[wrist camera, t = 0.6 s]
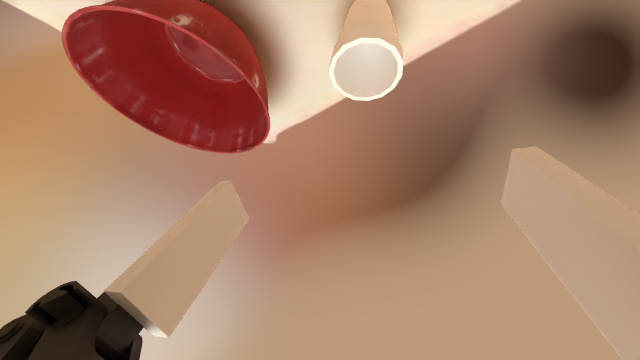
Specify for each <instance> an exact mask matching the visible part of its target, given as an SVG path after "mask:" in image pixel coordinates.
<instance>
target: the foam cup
mask: <svg viewBox="0 0 640 360" xmlns="http://www.w3.org/2000/svg"><path fill="white" fill-rule="evenodd" d="M402 68H403V51H402V47H401V45H400V43H399V40H398V36H397V33H396V29H395V25H394V21H393V18H392V14H391V10H390V7H389V5H388V3H387V1H386V0H355V1H354V3H353V4H352V5H351V7H350V10H349V12H348V15H347V18H346V20H345V23H344V26H343V28H342V31H341V34H340V36H339V39H338V42H337V43H336V44H335V46H334V50H333V54H332V58H331V63H330V69H329V74H330V77H331V81H332V85H333V86H334V87H335V88H336V89H337V90H338V91H339V92H340V93H341V94H342V95H344V96H346V97H349V98H351V99H353V100H367V101H368V100H372V99H376V98H379V97H382V96H384V95H385V94H387V93H388V92H389V91H391V90H392V89H394V88H395V86H396V85H397V83H398V81H399V80H400V78H401V76H402Z"/></svg>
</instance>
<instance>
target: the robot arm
mask: <svg viewBox="0 0 640 360" xmlns="http://www.w3.org/2000/svg"><path fill="white" fill-rule="evenodd" d="M501 205H502V207H503V208H504V209H505V210H506V212H507V213H508V214H509V215H510V217H511V218H512V219H513V221H514V222H515V223H516V224H517V226H518V227H519V228H520V230H521V231H522V232H523V233H524V235H525V236H526V237H527V239H528V240H529V241H530V242H531V244H532V245H533V246H534V247H535V249H536V250H537V251H538V253H539V254H540V255H541V256H542V258H543V259H544V260H545V262H546V263H547V264H548V265H549V267H550V268H551V269H552V271H553V272H554V273H555V274H556V276H557V277H558V278H559V279H560V281H561V282H562V283H563V285H564V286H565V287H566V288H567V290H568V291H569V292H570V294H571V295H572V296H573V297H574V299H575V300H576V301H577V302H578V304H579V305H580V306H581V308H582V309H583V310H584V311H585V313H586V314H587V315H588V316H589V318H590V319H591V320H592V322H593V323H594V324H595V325H596V327H597V328H598V329H599V331H600V332H601V333H602V334H603V336H604V337H605V338H606V340H607V341H608V342H609V343H610V345H611V346H612V347H613V348H614V350H615V351H616V352H617V354H618V355H619V356H620V357H621V359H622V360H640V215H639V214H638V213H637V212H635V211H634V210H632V209H631V208H629V207H627V206H626V205H624V204H623V203H621V202H620V201H618V200H617V199H615V198H614V197H612V196H610V195H609V194H608V193H606V192H605V191H603V190H601V189H600V188H598V187H597V186H595V185H594V184H592V183H591V182H589V181H588V180H586V179H585V178H583V177H581V176H580V175H578V174H577V173H575V172H574V171H572V170H571V169H569V168H568V167H566V166H565V165H563V164H562V163H560V162H559V161H557V160H556V159H554V158H553V157H551V156H550V155H548V154H546V153H545V152H543V151H542V150H540V149H539V148H537V147H529V148H520V149H513V150H512V154H511V159H510V164H509V169H508V174H507V178H506V183H505V188H504V194H503V198H502V203H501ZM248 220H249V217H248V215H247V213H246V211H245V209H244V206H243V204H242V202H241V200H240V198H239V196H238V194H237V192H236V190H235V188H234V186H233V184H232V182H231V181H224V182H219V183H218V184H217V185H216V186H215V187H214V188H213V189H211V190H210V191H209V192H208V193H207V194H206V195H205V196H204V197H203V198H202V199H201V200H200V201H199V202H198V203H197V204H196V205H195V206H194V207H193V208H191V209H190V210H189V211H188V212H187V213H186V214H185V215H184V216H183V217H182V218H181V219H180V220H179V221H178V222H177V223H175V224H174V225H173V226H172V227H171V228H170V229H169V230H168V231H167V232H166V233H165V234H164V235H163V236H162V237H161V238H160V239H159V240H157V242H155V243H154V244H153V245H152V246H151V247H150V248H149V249H148V250H147V251H146V252H145V253H144V254H143V255H142V256H141V257H139V259H137V260H136V261H135V262H134V263H133V264H132V265H131V266H130V267H129V268H128V269H127V270H126V271H125V272H124V273H122V275H120V276H119V277H118V278H117V279H116V280H115V281H114V282H113V283H112V284H111V285H110V286H109V287H108V288H107V289H106V290H105V291H104V293H102V294H101V295H100V296H99V297H98V298H96V297H94V296H93V295H92V294H91V293H90V292H89V291H87V290H86V289H85V288H84V287H83V286H81V285H80V284H79V283H78V282H77V281H72V282H68V283H66V284H63V285H60V286H59V287H57V288H55V289H53V290H51V291H50V292H48V293H47V294H46V295H44V296H42V297H41V298H40V299H39V300H37V301H36V302H35V303H34V304H33V305H32V306H31V307H30V308H29V309H28V310H27V311H26V312H25V313H26V315H24V316H21V317H19V318H17V319H14V320H13V321H11V322H9V323H8V324H6V325H4V326H3V327H2V328H1V329H0V360H139V359H140V353H141V347H142V337H141V336H140V335H139V333H140V331H141V330H142V329H143V327H144V328H145V329H146V330H147V331H149V332H150V333H151V334H152V335H153V336H159V337H166V338H169V337H170V335H171V334H172V332H173V331H174V329H175V328H176V326H177V325H178V324H179V322H180V321H181V319H182V318H183V316H184V315H185V313H186V311H187V310H188V309H189V307H190V306H191V304H192V303H193V301H194V300H195V298H196V297H197V295H198V294H199V292H200V291H201V290H202V288H203V287H204V285H205V284H206V282H207V281H208V279H209V278H210V276H211V275H212V273H213V272H214V270H215V269H216V267H217V266H218V264H219V263H220V261H221V260H222V259H223V257H224V256H225V254H226V253H227V251H228V250H229V248H230V247H231V245H232V244H233V242H234V241H235V239H236V238H237V236H238V235H239V233H240V232H241V230H242V229H243V227H244V226H245V225H246V223H247V222H248Z"/></svg>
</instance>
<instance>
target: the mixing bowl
mask: <svg viewBox="0 0 640 360" xmlns="http://www.w3.org/2000/svg"><path fill="white" fill-rule="evenodd" d="M62 42H63V47H64V49H65V52H66V55H67V56H68V58H69V60H70V62H71V64H72V66H73V67H74V69H75V70H76V71H77V73H78V74H79V75H80V77H81V78H82V79H83V80H84V81H85V83H86V84H87V85H88V86H89V87H90V88H91V89H92V90H93V91H94V92H95V93H96V94H97V95H99V96H100V97H101V98H102V99H103V100H104V101H105V102H107V103H108V104H109V105H110V106H112V107H113V108H114V109H115V110H117V111H118V112H120V113H121V114H123V115H124V116H126V117H127V118H128V119H130V120H132V121H133V122H135V123H137V124H138V125H140V126H142V127H144V128H145V129H147V130H149V131H151V132H153V133H155V134H157V135H159V136H162V137H164V138H166V139H168V140H171V141H173V142H176V143H179V144H181V145H184V146H188V147H191V148H194V149H199V150H203V151H209V152H215V153H241V152H246V151H249V150H252V149H254V148H256V147H258V146H259V145H260V144H262V143H263V142H264V141H265V139H266V138H267V136H268V133H269V130H270V117H269V113H268V98H267V89H266V84H265V79H264V75H263V72H262V68H261V65H260V62H259V59H258V57H257V54H256V52H255V50H254V48H253V46H252V44H251V43H250V41H249V40H248V38H247V37H246V35H245V34H244V32H243V31H242V30H241V29H240V28H239V27H238V26H237V25H236V24H235V23H234V22H233V21H232V20H231V19H229V18H228V17H227V16H226V15H224V14H223V13H222V12H220V11H219V10H217V9H215V8H214V7H212V6H210V5H208V4H206V3H204V2H202V1H199V0H115V1H111V2H108V3H105V4H103V5H95V6H89V7H85V8H82V9H79V10H77V11H75V12H74V13H72V14H71V15H70V16H69V17H68V18H67V20H66V21H65V23H64V25H63V29H62Z"/></svg>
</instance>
